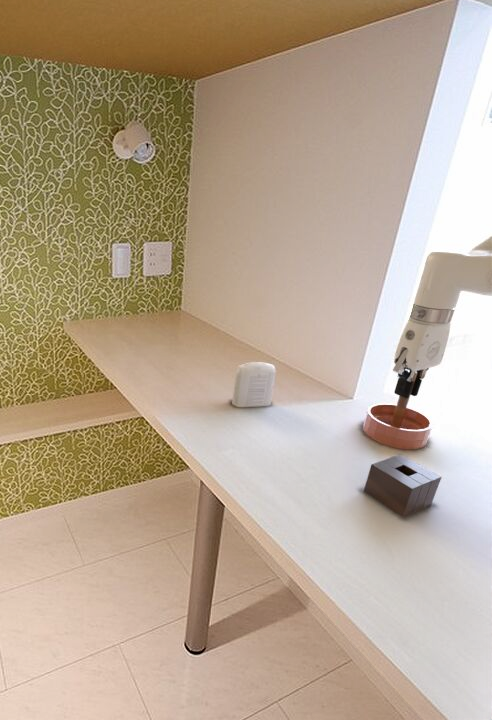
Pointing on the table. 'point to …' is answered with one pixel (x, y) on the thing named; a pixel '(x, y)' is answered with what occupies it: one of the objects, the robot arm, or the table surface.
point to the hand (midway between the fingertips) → (405, 394)
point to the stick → (401, 408)
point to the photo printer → (253, 384)
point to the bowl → (394, 436)
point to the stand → (402, 484)
